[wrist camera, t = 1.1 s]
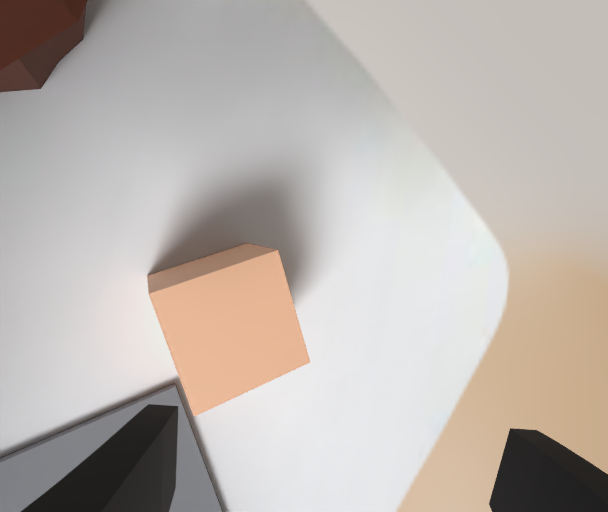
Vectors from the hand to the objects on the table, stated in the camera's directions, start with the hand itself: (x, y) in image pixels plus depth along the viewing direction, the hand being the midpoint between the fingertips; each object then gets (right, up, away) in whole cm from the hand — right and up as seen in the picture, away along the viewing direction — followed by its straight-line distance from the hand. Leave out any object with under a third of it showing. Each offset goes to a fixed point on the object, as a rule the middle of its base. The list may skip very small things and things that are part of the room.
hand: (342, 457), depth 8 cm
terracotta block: (-5, +2, +11) cm, 12 cm away
